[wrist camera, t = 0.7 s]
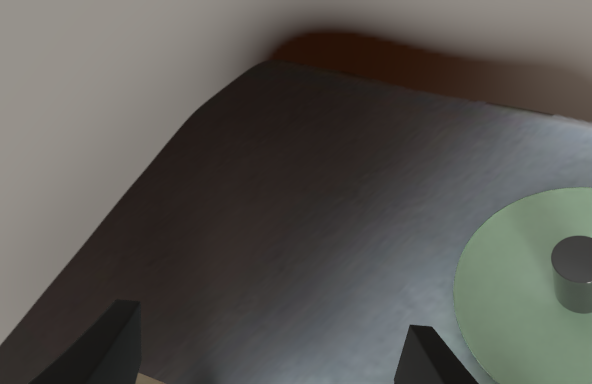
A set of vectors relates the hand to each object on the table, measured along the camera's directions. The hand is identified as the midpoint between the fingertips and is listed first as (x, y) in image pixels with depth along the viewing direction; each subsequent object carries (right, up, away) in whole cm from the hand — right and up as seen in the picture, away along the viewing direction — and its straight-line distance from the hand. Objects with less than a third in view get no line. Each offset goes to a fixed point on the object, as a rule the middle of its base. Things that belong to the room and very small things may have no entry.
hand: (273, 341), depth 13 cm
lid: (+16, -1, +13) cm, 20 cm away
